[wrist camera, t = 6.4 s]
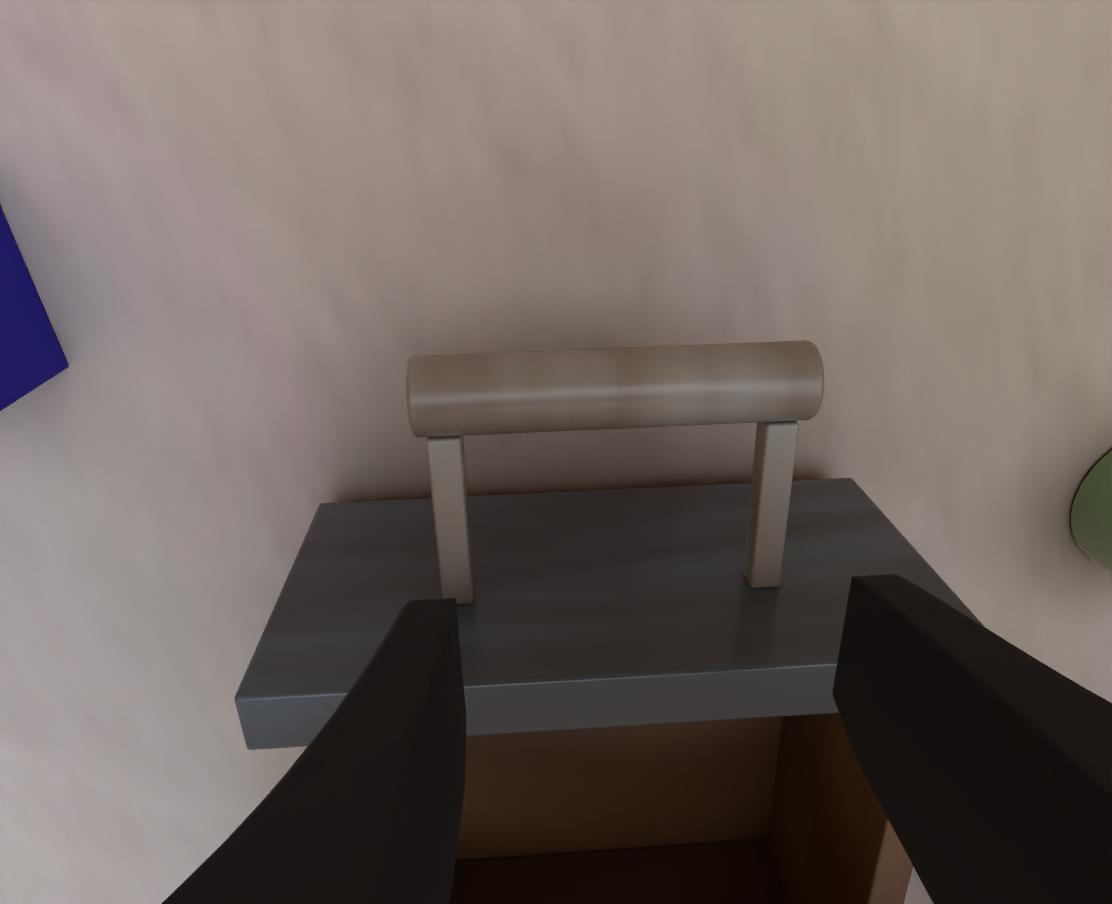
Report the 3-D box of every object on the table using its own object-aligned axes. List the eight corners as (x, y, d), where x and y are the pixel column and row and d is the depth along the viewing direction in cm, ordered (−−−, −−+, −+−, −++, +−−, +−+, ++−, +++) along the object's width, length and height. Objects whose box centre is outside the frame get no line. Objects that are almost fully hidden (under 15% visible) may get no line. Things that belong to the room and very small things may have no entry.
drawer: (284, 302, 17) (160, 425, 11) (883, 281, 17) (1086, 384, 11) (379, 852, 24) (338, 1108, 18) (797, 823, 25) (892, 1061, 19)
